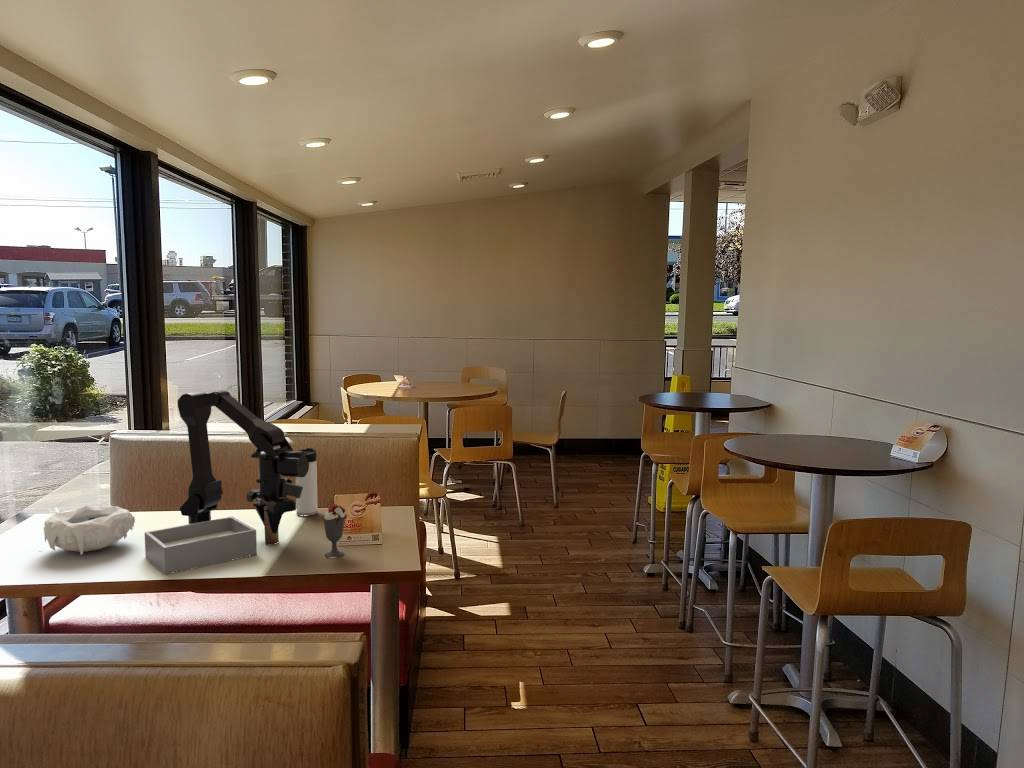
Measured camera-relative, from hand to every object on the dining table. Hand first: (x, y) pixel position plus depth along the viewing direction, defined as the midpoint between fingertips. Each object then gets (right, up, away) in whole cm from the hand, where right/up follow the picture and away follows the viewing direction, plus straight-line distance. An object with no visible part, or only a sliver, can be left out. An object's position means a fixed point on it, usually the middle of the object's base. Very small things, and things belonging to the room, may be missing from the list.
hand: (271, 531), depth 193 cm
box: (-14, -4, -11) cm, 18 cm away
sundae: (+19, -4, -9) cm, 22 cm away
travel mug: (+2, -1, +28) cm, 28 cm away
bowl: (-45, -4, -6) cm, 46 cm away
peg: (0, -3, 0) cm, 3 cm away
